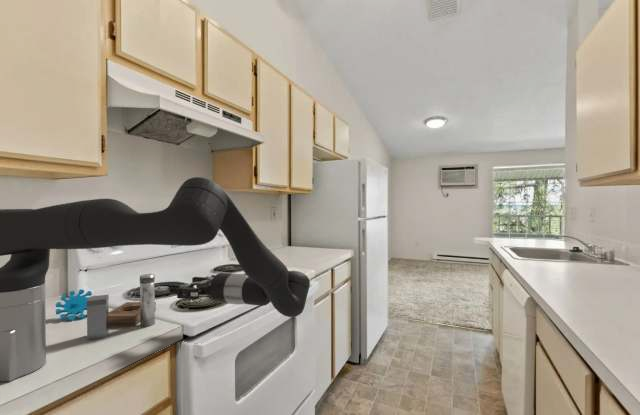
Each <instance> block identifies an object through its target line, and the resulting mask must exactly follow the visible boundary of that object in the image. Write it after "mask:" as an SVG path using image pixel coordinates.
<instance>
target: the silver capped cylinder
mask: <svg viewBox="0 0 640 415" xmlns="http://www.w3.org/2000/svg"><path fill="white" fill-rule="evenodd" d="M155 278H156V277H155V274H154V273H146V274H141V275H139V302H140V323H139V325H140V326H139V327H141V328H148V327H152V326H154V325H155V323H156V313H155V312H156V311H155V302H156V301H155V299H156V297H155V282H156V280H155Z"/></svg>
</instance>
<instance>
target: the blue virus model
mask: <svg viewBox="0 0 640 415" xmlns="http://www.w3.org/2000/svg"><path fill="white" fill-rule="evenodd" d="M68 293H69V296H70V297H69V299H67V295H66V294H63V295H62V296H61V297H60V301H64V304H62V302H60V301H57V302H56V303H55V307H56V309H55V314H56V315H59V314H60V315H59V317H60V319H61V320H65V319H67V318H66V317H68V321H70V322H74V321H75V317H76V316H77V315H78V316H77V317H78V319H79V320H81V319H84V318H85V314H84V312H85V311H87V300H88V299H89V297H91V296H93V293H92V291H90V290H88V291H87V292H86V293H85V290H84V289H83V288H81V289H79V290H78V293H77V294H76V292H75V290H71V291H69V292H68ZM75 294H76V295H75ZM74 295H75V296H74ZM61 308H63V309H61Z"/></svg>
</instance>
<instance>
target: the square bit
mask: <svg viewBox="0 0 640 415" xmlns="http://www.w3.org/2000/svg"><path fill="white" fill-rule="evenodd" d="M88 297H89V299H88V300H87V310H86V329H87V330H86V334H87V335H86V338H87V339H86V340H87V341H92V340H98V339H105V338H107V336H108V335H109V330H110V329H109V328H110V327H109V312H110V311H109V300H110V299H109V298H110V297H109V294H102V295H91V296H88Z"/></svg>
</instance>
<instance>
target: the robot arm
mask: <svg viewBox="0 0 640 415" xmlns="http://www.w3.org/2000/svg"><path fill="white" fill-rule="evenodd" d="M219 231H221V232H222V234H223V235H224V237H225V239H226V240H227V242H228V243H229V245H230V247H231V249H232V252H233V254H234V256H235V258H236V260H237V263H238V265H239V267H240V268H241V270H242V271H243V272H244V273H231V272H230V273H229V272H219V273H217V274H212V275H210V276H204V277H202V276H193V277H192V279H191V280H192V281H191V282H190V283H189V284H170V285H169V286H168V288H169V289H168V292H169V294H171V295H176V298H177V299H183V300H184V299H187V300H199V299H200V297H210V298H211V299H212V301H213V302H215V303H219V304H229V305H249V306H250V305H251V306H262V307H263V306H267V305H269V304H270V303H271V305H272V307H273V308H274V309H275V310H276V311H277V312H278V313H279V314H281V315H282V316H285V317H288V318H294V317H295V318H296V317H298V316H300V315H301V314H302V313H303V312H304V309H305V307H306V303H307V297H308V293H309V289H310V285H311V282H310V281H311V280H310V278H309V276H307V275H306V274H305V273H304V272H300V271H297V270H288V267H287V266H286V265H285V264H284V263H283V262H282V260H280V258H278V257H277V256H276V255H275V254H274V253H273V252H272V251H271V250H270V249H269V248H268V247H267V246H266V245H265V243H263V241H262V240H261V239H260V238H259V236H258V235H257V234H256V233H255V231H254V230H253V228H252V227H251V226H250V224H249V223H248V221H247V220H246V219H245V217H244V215H243V214H242V212H240V210H239V209H238V207H237V206H236V204H235V203H234V201H233V200H232V198H230V196H229V195H228V194H227V192H226V191H225V190H224V188H222V187H221V186H220V185H219V184H218V183H216V182H215V181H213V180H211V179H209V178H206V177H198V176H196V177H191V178H188V179H186V180H185V181H184V182H182V184H181V185H180V187H179V188H178V189H177V191H176V193H175V195H174V196H173V198H172V200H171V201H170V204H169V205H168V206H167V207H166V208H164V209H162V210H159V211H153V212H143V213H142V212H141V213H140V212H137V211H136V210H135V209H133V208H132V207H130V206H129V205H128V204H126V203H124V202H123V201H119V200H117V199H112V198H97V199H96V198H95V199H85V200H79V201H73V202H66V203H60V204H56V205H50V206H45V207H44V206H43V207H40V208H33V209H32V208H8V209H7V208H1V209H0V257H3V256H9V255H10V258H9V260H8V261H7V262H6V263H5V264H4V265H2V266H1V267H0V382H11V381H14V380H15V379H17V378H20V377H23V376H26V375H28V374H29V375H30V374H31V373H33V372H35V371H37V370H39V369H40V368H42V367H43V366H44V365H46V363H47V334H46V333H47V332H46V331H47V328H46V326H47V325H46V323H47V322H46V316H47V315H46V276H47V272H48V270H49V267H50V253H51V250H85V249H86V250H88V249H90V250H91V249H99V248H111V247H121V246H125V247H126V246H140V245H142V246H143V245H146V246H147V245H148V246H149V245H150V246H151V245H158V246H159V245H161V246H184V247H185V246H186V247H187V246H189V247H190V246H201V245H205V244H208V243H210V242H212V241H213V240H214V239H215V238H216V237H217V236H218V233H219Z"/></svg>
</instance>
